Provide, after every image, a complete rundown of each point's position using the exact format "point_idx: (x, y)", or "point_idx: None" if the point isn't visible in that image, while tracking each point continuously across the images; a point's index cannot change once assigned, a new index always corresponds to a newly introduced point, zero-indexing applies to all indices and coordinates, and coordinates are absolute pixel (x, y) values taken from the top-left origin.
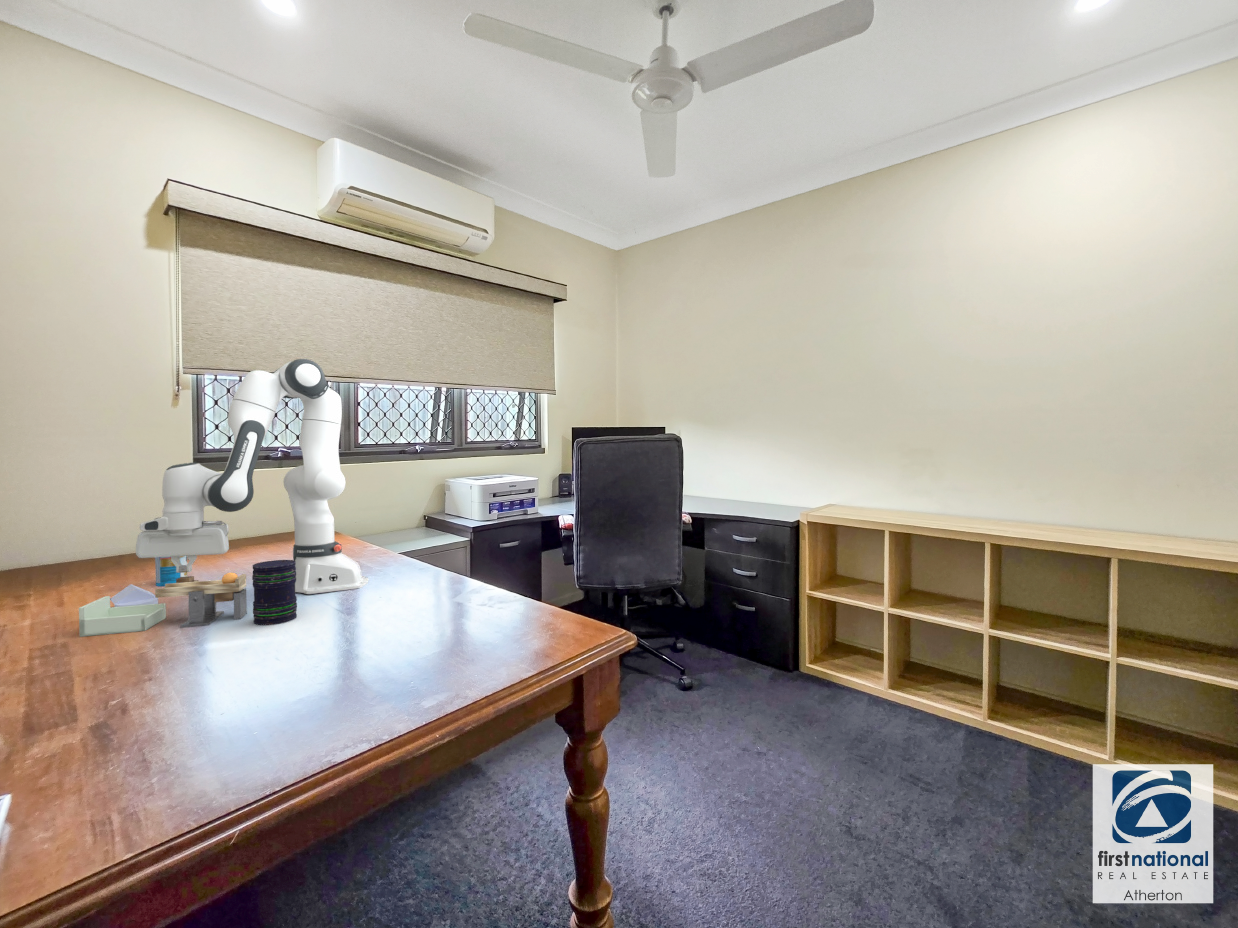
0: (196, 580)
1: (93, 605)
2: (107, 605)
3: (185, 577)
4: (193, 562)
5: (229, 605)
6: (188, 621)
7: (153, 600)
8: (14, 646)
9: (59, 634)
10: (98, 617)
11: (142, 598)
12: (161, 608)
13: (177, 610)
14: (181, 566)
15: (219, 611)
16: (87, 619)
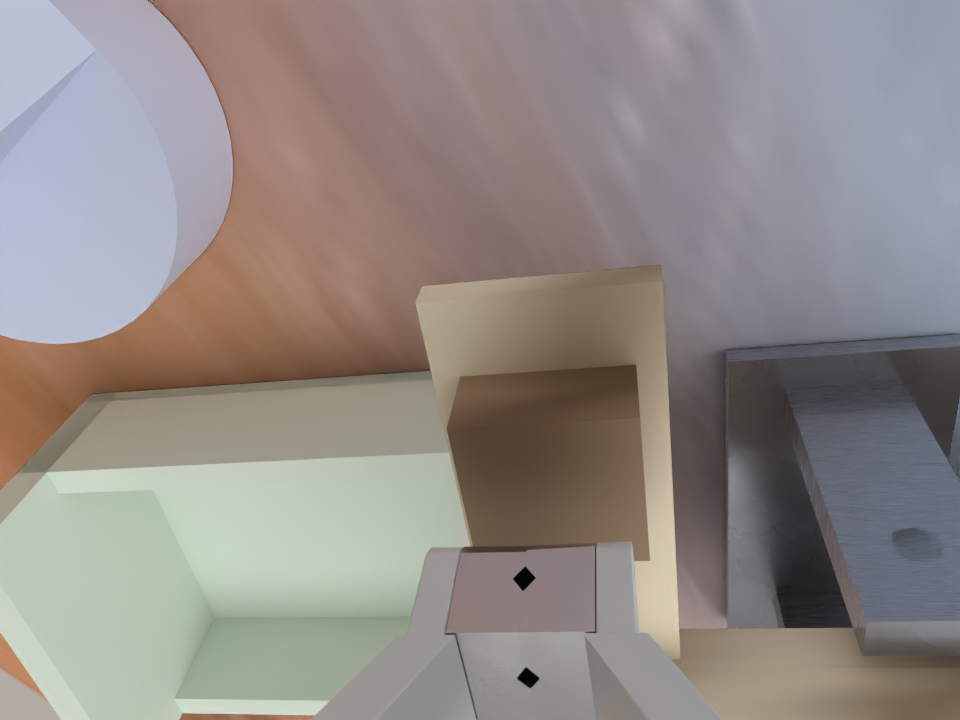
0: (638, 296)
1: (103, 707)
2: (48, 523)
3: (544, 477)
4: (682, 685)
5: (951, 8)
6: (749, 569)
7: (169, 199)
8: (18, 671)
9: None
10: (136, 574)
11: (5, 152)
12: None
13: (420, 119)
14: (517, 718)
15: (924, 357)
16: (196, 711)
